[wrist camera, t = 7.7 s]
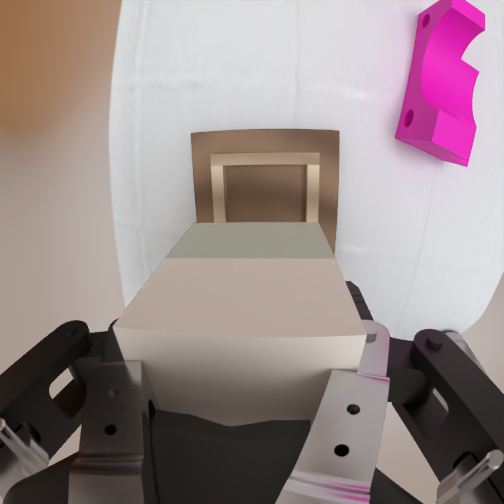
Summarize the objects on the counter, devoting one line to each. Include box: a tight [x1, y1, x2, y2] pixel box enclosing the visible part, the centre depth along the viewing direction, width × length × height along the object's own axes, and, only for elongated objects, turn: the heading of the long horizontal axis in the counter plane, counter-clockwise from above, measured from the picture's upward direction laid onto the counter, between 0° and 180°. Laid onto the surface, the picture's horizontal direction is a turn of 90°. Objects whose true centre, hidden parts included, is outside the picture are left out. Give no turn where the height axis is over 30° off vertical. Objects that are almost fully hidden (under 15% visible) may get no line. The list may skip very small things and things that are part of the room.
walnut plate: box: [191, 129, 339, 255], centre depth 26 cm, size 13×13×3 cm
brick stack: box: [113, 222, 367, 427], centre depth 9 cm, size 5×5×7 cm
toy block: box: [395, 0, 485, 167], centre depth 18 cm, size 15×6×8 cm, turn 167°
